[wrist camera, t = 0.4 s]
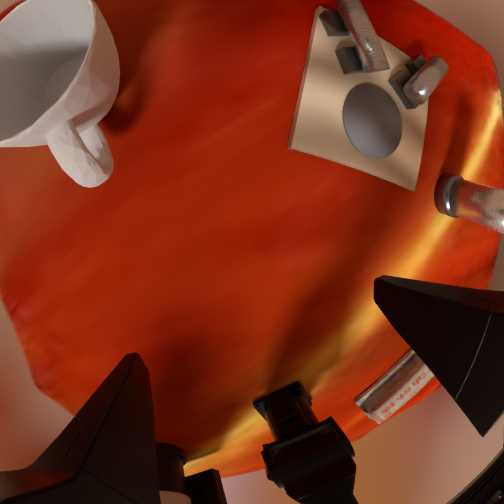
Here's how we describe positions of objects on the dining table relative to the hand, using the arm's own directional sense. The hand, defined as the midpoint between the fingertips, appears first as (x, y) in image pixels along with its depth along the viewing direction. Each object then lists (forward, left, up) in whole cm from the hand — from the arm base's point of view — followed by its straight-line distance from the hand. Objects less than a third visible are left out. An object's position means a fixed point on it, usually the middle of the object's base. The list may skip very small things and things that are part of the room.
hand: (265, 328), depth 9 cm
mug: (+14, +5, -14) cm, 20 cm away
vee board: (+5, -18, -14) cm, 24 cm away
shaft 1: (+11, -18, -14) cm, 25 cm away
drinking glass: (-8, -27, -14) cm, 32 cm away
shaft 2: (+6, -24, -14) cm, 29 cm away
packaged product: (-36, -16, -15) cm, 42 cm away
